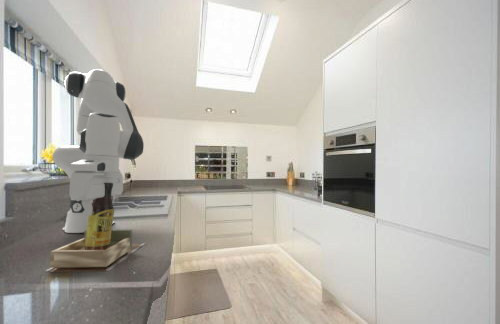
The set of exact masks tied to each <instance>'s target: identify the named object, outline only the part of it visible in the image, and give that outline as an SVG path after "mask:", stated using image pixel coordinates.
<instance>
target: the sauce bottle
mask: <svg viewBox="0 0 500 324" xmlns="http://www.w3.org/2000/svg"><path fill="white" fill-rule="evenodd" d="M104 184H105V195H104V197H102V198H96V199H95V200H94V201H93V203H92V207H93V209H95V210H94V215H91V216H89V217H88V225H87V232H86V239H85V250H106V249H108V248H109V245H110V241H111V233H112V230H113V225H114V224H113V221H114V216H115V215H114V214H115V213H114V212H115V208H114V203H112V199H111V192H112V188H113V183H104ZM112 224H113V225H112Z"/></svg>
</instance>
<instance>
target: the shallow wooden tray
mask: <svg viewBox="0 0 500 324" xmlns="http://www.w3.org/2000/svg"><path fill="white" fill-rule="evenodd" d="M86 232H87V230H85V231H84V232H83V233H84V234H83V235H84V237H83V238H81V239H77V240H75V241H73V242H70V243H68V244H66V245H62V246H61V247H58V248H55V249H53V250H51V251H50V253H49V267H48V269H49V268H62V267H103V268H108V267H109V266H110V264H111V263H112V262H114V261H115V260H117V259H118V258H119V257H121V256H122V255H124V254H127V253H128V251H129V250H131V244H133V242H132V241H133V229H112V233H111V241H110V245H109V248H108V249H106V250H85V239H86Z"/></svg>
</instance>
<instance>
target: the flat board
mask: <svg viewBox="0 0 500 324" xmlns="http://www.w3.org/2000/svg"><path fill="white" fill-rule="evenodd" d="M145 245H146V242H142V243H132V244H131V250H129V251H128V253H127V254H124V255H122V256H121V257H119V258H118V259H117V260H115V261H114V262H112V263H111V264H110V266H109V267H108V268H103V267H62V268H49V267H48V269H45V271H44V272H45V273H53V272H54V273H57V272H58V273H59V272H61V273H62V272H65V273H66V272H111V271H112V270H113V269H114V268H115V267H117V266H119V265H120V264H121V263H123V262H124V261H125V260H126V259H128V258H129V257H131V256H132V255H133V254H134V253H135V252H137V251H138V250H140V249H141V248H142V247H144V246H145Z"/></svg>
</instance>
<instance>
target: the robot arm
mask: <svg viewBox="0 0 500 324" xmlns="http://www.w3.org/2000/svg"><path fill="white" fill-rule="evenodd" d="M64 87H65V90H66V92H67V94H68V95H70V96H72V97H74V98H77V99H78V98H79V99H81V101H80V104H79V107H78V113H77V114H78V115H77V125H76V132H77V134H78V135H79V136H80V140H79V141H80V142H79V145H69V144H68V145H60V146H58V147H56V148H55V150H54V151H53V152H52V160H53V163H54V165H56V167H57V168H59V169H61V170H62V171H64V172H65V174H66V175H67V176H68V178H69V198H70V200H69V208H70V209H69V210H68V211H67V213H66V218H65V219H66V220H65V225H64V227H62V231H64V232H65V233H67V234H80V233H84V231H85V230H87V225H88V217H89V216H91V215H94V210H95V209H93V207H92V203H93V201H94V200H95V199H96V198H102V197H104V195H105V184H104V183H113V188H112V192H111V199H112V203H113V204H114V203H115V200H116V196H118V195H122V194H123V191H124V176H123V174H122V173H121V170H120V159H123V160H130V161H134V160H135V159H137V158H139V157H140V156H141V155H142V154H143V153H144V147H145V146H144V140H143V137H142V136H141V134H140V132H139V130H138V127H137V125H136V122H135V119H134V117H133V114H132V111H131V110H130V107H129V105H128V104H127V103H125V102H124V101H125V100H126V97H127V92H126V88H125V86H124V84H122V83H120V82H118V81H115V80H114V78H113V77H112V75H111V74H110V73H109V72H107V71H105V70H103V69H99V68H97V69H92V70H90V71H89V72H88V73H82V72H79V71H71V72H69V73H68V75H67V76H66V77H65V80H64ZM121 129H122V130H121ZM114 222H115V221H114V220H113V223H114Z"/></svg>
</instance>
